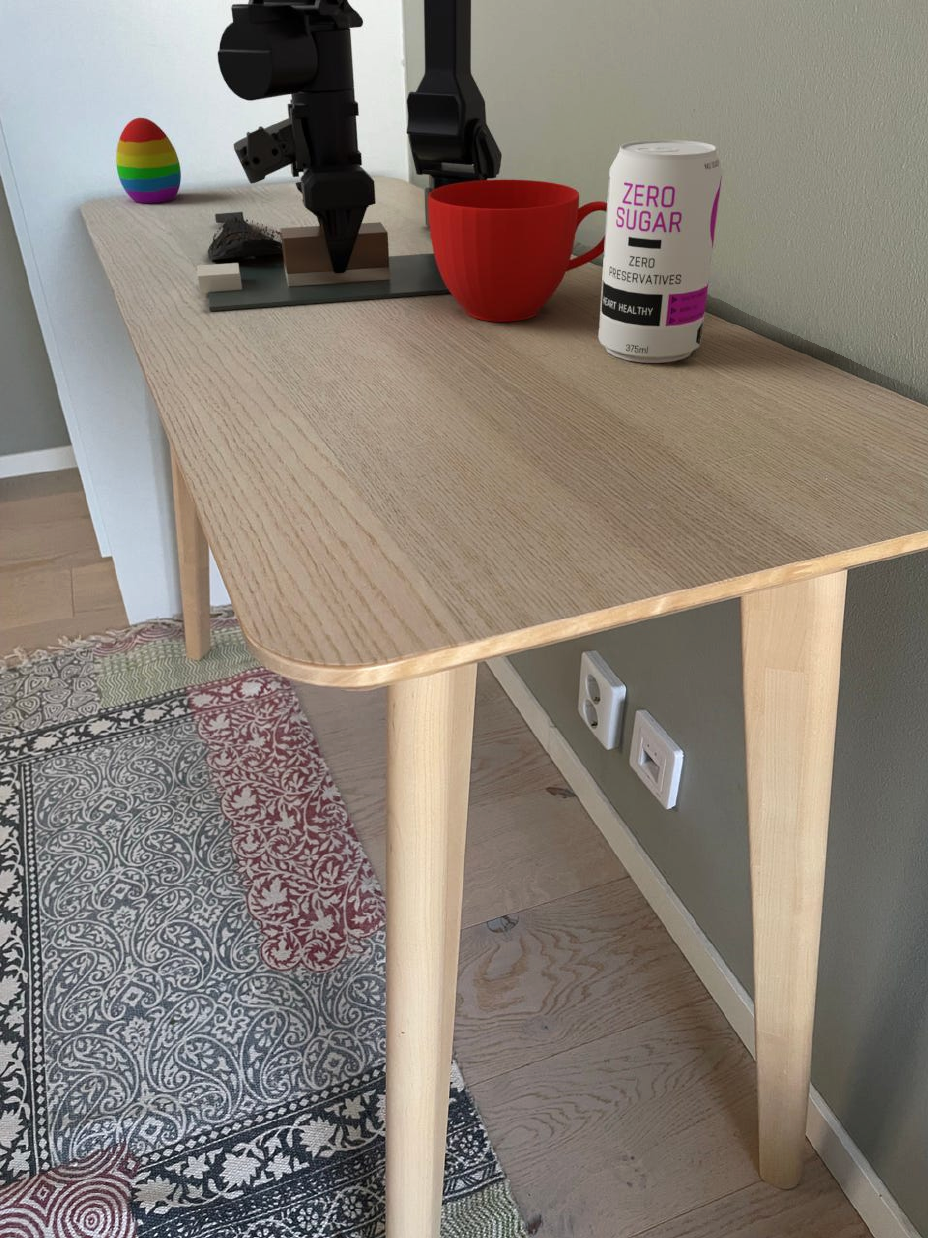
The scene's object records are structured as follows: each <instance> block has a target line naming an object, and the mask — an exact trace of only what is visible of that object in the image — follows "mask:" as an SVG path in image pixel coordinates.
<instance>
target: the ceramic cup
mask: <svg viewBox="0 0 928 1238" xmlns="http://www.w3.org/2000/svg"><path fill="white" fill-rule="evenodd" d="M598 211H604V212H606V213H607V201H602V200H601V201H600V200H597V201H590V202H588V203H586V204H584V205H581V206H580V192H579V191H578V190H577V189H575V188H573V187H571V186H568V185H564V184H559V183H555V182H548V181H543V180H531V179H487V180H481V181H470V182H461V183H455V184H450V185H446V186H442V187H439V188H436V189H434V190H433V191H431V192H430V194H429V195H428V214H429V224H430V229H429V233H430V238H431V240H430V241H431V246H432V251H433V253H434V255H435V259H436V263H437V266H438V269H439V272H440V274H441V277H442V279H443V281H444V283H445V285H446V287H447V288H448V290H449V291H450V293H449V294H451V295H452V297H453V298H454V299H455V300H456V302H457V303H458V304H459V305H460V306H461V307H462V308H463V309H464V310H465V313H466V315H468V316H469V317H471V318H474V319H477V320H481V321H487V322H496V323H497V322H498V323H505V322H518V321H524V320H527V319H531V318H533V317H535V316H536V315H538V314H539V312H540V310H541V309H542V307H544V305H546V303H547V302H548V301H549V300H550V299H551V297H552V296H553V295H554V293H555V292H556V290H557V289H558V288H559V286H560V285H561V283H562V281H563V279H564V277H565V275H566V273H567V272H569V271H572V270H574V269H577V268H579V267H581V266H584V265H586V264H588V263H590V262H592V261H593V260H595V259H597V258H598V257H600V256H601V255H602V254H604V246H605V235H604V236H603V237H602V238H601V240H600V241H599V242H598V243H597V244H596V245H595V246H594V247H593V248H591V249H590V250H588V251H586V252H585V253H583V254H581V255H579V256H577V257H574V258H572V253H573V249H574V245H575V240H576V234H577V232H578V228H579V226H580V224H581V223H582V221H583V220H584V219H585V218H587V216H588V215H591V214H592V213H594V212H598Z"/></svg>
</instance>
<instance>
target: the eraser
mask: <svg viewBox="0 0 928 1238" xmlns="http://www.w3.org/2000/svg"><path fill="white" fill-rule="evenodd" d="M279 230H280V233H281V236H280V237H281V239H282V240H281V239H280V240H281V243H282V248H283V253H282V255H283V256H282V258H283V264H284V266H285V275H286V279H287V283H288V286H289V287H292V286H306V285H320V284H334V283H349V282H363V281H377V280H390V269H389V256H390V253H389V252H390V251H389V234H388V233H389V232H388V231H387V229H386V228H385V226H384V225H383V224H382V222H381V221H380V222H379V221H378V222H362V224H361V227H360V229H359V232H358V235H357V238H356V241H355V244H354V247H353V250H352V253H351V256H350V260H349V263H348V266H347V269H346V271H345V273H335V272H334V270H333V267H332V263H331V259H330V255H329V252H328V248H327V244H326V240H325V236H324V233H323V229H322V226H319V225H312V226H311V225H310V226H309V225H308V226H295V227H280V229H279Z"/></svg>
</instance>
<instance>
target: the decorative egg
mask: <svg viewBox="0 0 928 1238" xmlns="http://www.w3.org/2000/svg"><path fill="white" fill-rule="evenodd" d="M115 163H116V171H117V176H118V180H119V182H120V184H121V187H122V188H123V190H124V191H125V193H126V194H127V195H128V196H129V198H130V199H131V200H132V201H134V202H135V203H140V204H159V203H160V204H161V203H167V202H170V201H173V200H174V199H175V198H176V196H177V195H178V192H179V190H180V186H181V180H182V179H181V178H182V172H181V166H180V165H181V164H180V160H179V157H178V154H177V151H176V149H175V147H174V145H173V143H172V141H171V139H170V138H169V136H168V135H167V134H166V133H165V131H164V130H163V129H162V128H161V127H160V126H159V125H158V124H157V123H156V122H154V121H152V120H150V119H149V118H145V117H136V118H134V119H133V118H132V120H130V121H129V122H128V123H127V124H126V125H125V126H124V128H123V130H122V132H121V134H120V135H119V138H118V141H117V146H116V153H115Z"/></svg>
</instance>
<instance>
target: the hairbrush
mask: <svg viewBox="0 0 928 1238" xmlns="http://www.w3.org/2000/svg"><path fill="white" fill-rule="evenodd" d="M214 218H215V219H214V221H215V223H216V224H224V225H223V228H222V227H218V230H217V231H216V232H215V233H214V234H213V237H212V243H210V245H209V247H208V249H207V257H208V260H210V261H215V260H226V259H238V258H249V257H259V256H270V255H271V256H274V255H278V254H283V248H282V239H281V231H277V230H275V231H274V229H271V228H269V231H271V233H270V232H268V226H265V227H264V228H265V229H264V228H263V229H262V228H261V229H260V227H259V226H258V225H259V222H257V223H256V224H257V226H258V227H256V228H253V225H251V226H250V224H249V223H248V222H249V219H245V218H244V213H243V211H233V212H222V213H215V214H214ZM251 222H252V223H251V224H253V223H254V220H251ZM263 226H264V225H263V223H261V227H263ZM275 237H276V238H275ZM277 239H278V240H277Z"/></svg>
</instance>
